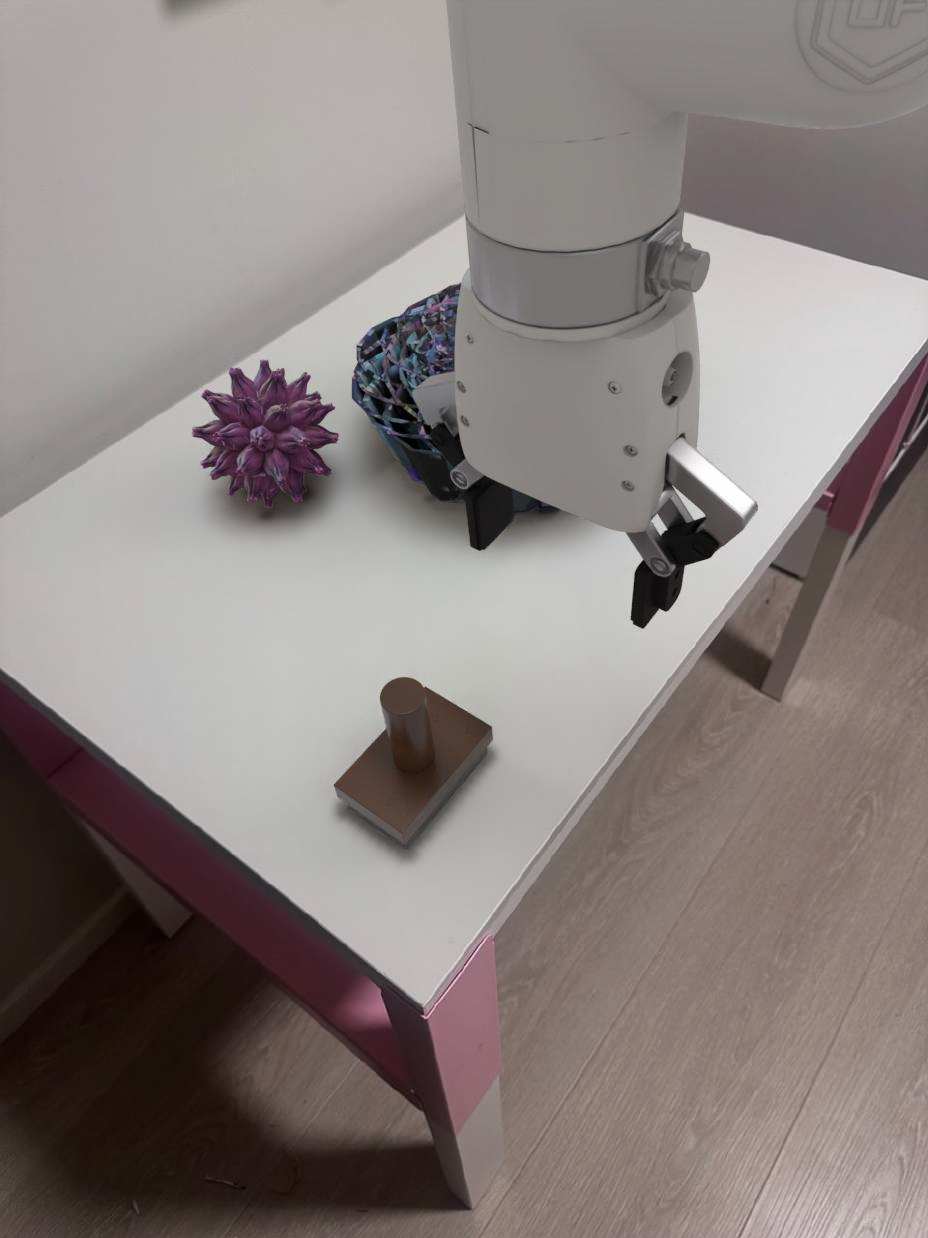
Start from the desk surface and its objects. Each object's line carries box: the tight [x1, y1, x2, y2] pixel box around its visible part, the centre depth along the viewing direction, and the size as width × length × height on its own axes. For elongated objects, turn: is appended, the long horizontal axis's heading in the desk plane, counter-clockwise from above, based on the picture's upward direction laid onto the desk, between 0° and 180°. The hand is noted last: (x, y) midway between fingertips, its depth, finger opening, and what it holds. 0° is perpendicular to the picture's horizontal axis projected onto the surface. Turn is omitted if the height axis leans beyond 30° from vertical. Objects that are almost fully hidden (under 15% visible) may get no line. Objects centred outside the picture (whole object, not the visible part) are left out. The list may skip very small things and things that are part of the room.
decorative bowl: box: [351, 281, 561, 516], centre depth 76 cm, size 26×28×10 cm
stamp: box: [333, 676, 494, 850], centre depth 53 cm, size 9×6×10 cm, turn 143°
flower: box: [191, 359, 340, 509], centre depth 72 cm, size 12×12×12 cm
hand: (568, 569), depth 45 cm, fingers open, 9 cm apart
